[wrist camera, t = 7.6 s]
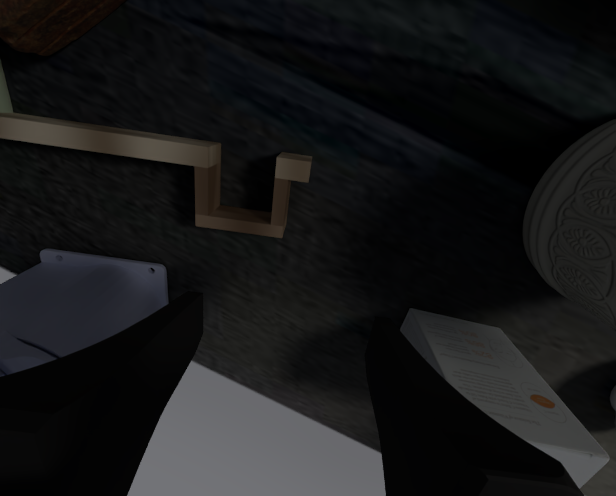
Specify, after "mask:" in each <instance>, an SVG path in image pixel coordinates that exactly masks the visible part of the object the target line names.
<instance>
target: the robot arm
mask: <svg viewBox="0 0 616 496" xmlns="http://www.w3.org/2000/svg"><path fill="white" fill-rule="evenodd" d="M60 256H61V257H62V258H61V257H60ZM40 258H41V263H39V264H38V265H36V266H34V267H32V268H30V269H28V270H26V271H24V272H23V273H21V274H19V275H17V276H15V277H13V278H11V279H9V280H8V281H6V282H4V283H2V284H0V496H127V494H128V492H129V489H130V487H131V484H132V482H133V479H134V477H135V474H136V472H137V469H138V467H139V465H140V462H141V460H142V458H143V455H144V453H145V450H146V448H147V446H148V443H149V441H150V439H151V437H152V434H153V432H154V430H155V427H156V425H157V423H158V421H159V418H160V416H161V414H162V412H163V410H164V408H165V406H166V405H167V403H168V401H169V399H170V397H171V395H172V394H173V392H174V390H175V388H176V387H177V385H178V383H179V381H180V380H181V378H182V376H183V374H184V373H185V371H186V369H187V367H188V365H189V363H190V362H191V360H192V358H193V356H194V354H195V352H196V350H197V347H198V345H199V342H200V340H201V337H202V335H203V293H197V292H190V291H188V292H186V293H184V294H183V295H181V296H180V297H178V298H176V299H175V300H173V301H172V302H170V303H169V302H168V286H167V271H166V268H165V266H163V265H162V264H157V263H150V262H143V261H135V260H128V259H121V258H114V257H106V256H99V255H92V254H84V253H77V252H70V251H63V250H55V249H44V250H42V251H41V252H40ZM151 268H153V269H154V270H155V271H152V270H151ZM365 361H366V373H367V380H368V385H369V390H370V395H371V400H372V404H373V409H374V414H375V418H376V423H377V428H378V432H379V438H380V444H381V453H382V461H383V470H384V480H385V490H386V496H584V495H583V494H582V492H581V491H580V489H579V488H578V486H577V485H576V483H575V482H574V481H573V479H572V478H571V476H570V475H569V473H568V472H567V470H566V469H565V467H564V466H563V465H562V463H561V462H560V461H558V460H556V459H555V458H553V457H551V456H550V455H548V454H546V453H545V452H543V451H542V450H540V449H538V448H537V447H535V446H533V445H532V444H530V443H528V442H527V441H525V440H523V439H522V438H520V437H519V436H517V435H516V434H514V433H513V432H511V431H510V430H508V429H507V428H505V427H504V426H502V425H501V424H500V423H498V422H497V421H495V420H494V419H493V418H491V417H490V416H488V415H487V414H486V413H484V412H483V411H482V410H481V409H479V408H478V407H477V406H475V405H474V404H473V403H472V402H470V401H469V400H468V399H467V398H465V397H464V396H463V395H462V394H461V393H459V392H458V391H457V390H456V389H455V388H454V387H453V386H452V385H450V384H449V383H448V382H447V381H446V380H445V379H444V378H443V377H442V376H441V375H440V374H439V373H438V372H437V371H436V370H435V369H434V368H433V367H432V366H431V365H430V364H429V363H428V362H427V361H426V360H425V359H424V358H423V357H422V356H421V354H420V353H419V352H418V351H417V350H416V349H415V348H414V347H413V345H412V344H411V343H410V342H409V341H408V340H407V338H406V337H405V336H404V335H403V334H402V332H401V331H400V330H399V329H398V328H397V326H396V325H395V324H394V323H393V322H392V320H391V319H389V318H381V317H375V320H374V324H373V327H372V331H371V334H370V338H369V342H368V345H367V349H366V352H365Z"/></svg>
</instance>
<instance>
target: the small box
mask: <svg viewBox="0 0 616 496" xmlns="http://www.w3.org/2000/svg"><path fill="white" fill-rule="evenodd" d="M400 331H401V332H402V334H403V335H404V336H405V337H406V338H407V340H408V341H409V342H410V343H411V344H412V345H413V347H414V348H415V349H416V350H417V351H418V352H419V353H420V354H421V356H422V357H423V358H424V359H425V360H426V361H427V362H428V363H429V364H430V365H431V366H432V367H433V368H434V369H435V370H436V371H437V372H438V373H439V374H440V375H441V376H442V377H443V378H444V379H445V380H446V381H447V382H448V383H449V384H450V385H452V386H453V387H454V388H455V389H456V390H457V391H458V392H459V393H461V394H462V395H463V396H464V397H465V398H467V399H468V400H469V401H470V402H472V403H473V404H474V405H475V406H477V407H478V408H479V409H481V410H482V411H483V412H484V413H486V414H487V415H488V416H490V417H491V418H493V419H494V420H495V421H497V422H498V423H500V424H501V425H502V426H504V427H505V428H507V429H508V430H510V431H511V432H513V433H514V434H516V435H517V436H519V437H520V438H522V439H523V440H525V441H527V442H528V443H530V444H532V445H533V446H535V447H537V448H538V449H540V450H542V451H543V452H545V453H546V454H548V455H550V456H551V457H553V458H555V459H556V460H558V461H560V462H561V463H562V465H563V466H564V467H565V469H566V470H567V472H568V473H569V475H570V476H571V478H572V479H573V481H574V482H575V483H576V485H577V486H578V488H581V487H582V486H583V485H584V484H585V483H586V482H587V481H588V480H589V479H590V478H591V477H592V476H593V475H594V474H596V473H597V472H598V471H599V470H600V469H601V468H602V467H603V466H604V465H605V464H606V463H607V462H608V461H609V459H610V458H609V455H608V454H607V453H606V452H605V450H604V449H603V448H602V447H601V446H600V445H599V443H598V442H597V441H596V440H595V439H594V438H593V436H592V435H591V434H590V433H589V432H588V431H587V429H586V428H585V427H584V426H583V425H582V424H581V422H580V421H579V420H578V419H577V418H576V417H575V415H574V414H573V413H572V412H571V411H570V410H569V408H568V407H567V406H566V405H565V404H564V403H563V401H562V400H561V399H560V398H559V397H558V395H557V394H556V393H555V392H554V391H553V390H552V388H551V387H550V386H549V385H548V384H547V383H546V382H545V380H544V379H543V378H542V377H541V376H540V375H539V373H538V372H537V371H536V370H535V369H534V368H533V366H532V365H531V364H530V363H529V362H528V361H527V360H526V358H525V357H524V356H523V355H522V354H521V352H520V351H519V350H518V349H517V348H516V347H515V346H514V344H513V343H512V342H511V341H510V340H509V339H508V337H507V336H506V335H505V334H504V333H503V331H502V330H501V329H500V328H498V327H493V326H488V325H484V324H479V323H475V322H471V321H466V320H462V319H457V318H453V317H449V316H444V315H440V314H435V313H431V312H426V311H422V310H417V309H413V308H410V309H409V311H408V313H407V315H406V318H405V320H404V322H403V324H402V326H401V328H400Z"/></svg>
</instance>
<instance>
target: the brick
mask: <svg viewBox="0 0 616 496" xmlns="http://www.w3.org/2000/svg"><path fill="white" fill-rule="evenodd" d="M125 1H126V0H0V38H1V39H2V40H3V41H4V42H5V43H7V44H8V45H10V47H11V48H13V49H14V50H16V51H20V52H24V53H36V54H38V55H42V56H50V55H52V54H54V53H56V52H57V51H59V50H60V49H61V48H63V47H65V46H66V45H68V44H69V43H70V42H72V41H74V40H76V39H78V38H79V37H81V36H82V35H83V34H85V33H86V32H87V31H88V30H90V29H91V28H92V27H93V26H95V25H96V24H98V23H99V22H100V21H102V20H103V19H104V18H106V17H107V16H108V15H109V14H111V13H112V12H113V11H114V10H116V9H117V8H118V7H119V6H120V5H121V4H122V3H124V2H125Z"/></svg>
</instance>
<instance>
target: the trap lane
mask: <svg viewBox="0 0 616 496" xmlns="http://www.w3.org/2000/svg"><path fill="white" fill-rule="evenodd" d="M0 138H3V139H10V140H17V141H24V142H31V143H38V144H45V145H52V146H59V147H66V148H72V149H79V150H86V151H93V152H100V153H107V154H114V155H121V156H128V157H135V158H142V159H149V160H155V161H162V162H169V163H176V164H183V165H190V166H195V222H196V226H199V227H206V228H213V229H221V230H228V231H235V232H242V233H249V234H256V235H263V236H270V237H278V238H282V236H283V233H284V230H285V226H286V220H287V211H288V202H289V193H290V184H291V180H294V181H301V182H308V181H309V175H310V168H311V161H312V156H305V155H299V154H292V153H285V152H281V153H280V154H279V155H278V156H277V160H276V171H275V182H274V194H273V205H272V212H265V211H258V210H251V209H244V208H237V207H230V206H223V205H220V173H221V143H217V142H210V141H203V140H196V139H189V138H182V137H176V136H169V135H162V134H155V133H148V132H141V131H135V130H128V129H121V128H114V127H107V126H100V125H94V124H87V123H80V122H73V121H66V120H59V119H53V118H46V117H39V116H32V115H25V114H18V113H13V109H12V105H11V101H10V96H9V92H8V88H7V84H6V80H5V76H4V72H3V68H2V63H1V59H0Z"/></svg>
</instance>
